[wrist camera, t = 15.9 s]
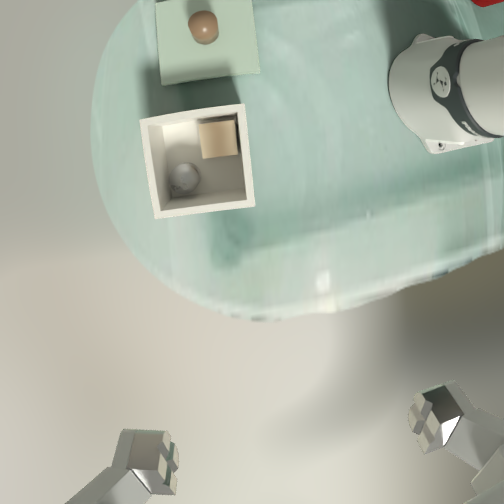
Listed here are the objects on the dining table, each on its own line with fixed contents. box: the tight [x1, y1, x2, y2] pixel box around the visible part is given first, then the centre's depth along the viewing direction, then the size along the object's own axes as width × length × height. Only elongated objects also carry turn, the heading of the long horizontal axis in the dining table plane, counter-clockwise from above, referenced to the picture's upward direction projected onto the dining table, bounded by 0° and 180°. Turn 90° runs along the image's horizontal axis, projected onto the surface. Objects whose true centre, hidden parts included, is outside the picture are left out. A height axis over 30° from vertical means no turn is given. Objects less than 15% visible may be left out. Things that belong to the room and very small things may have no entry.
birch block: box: [199, 120, 238, 159], centre depth 36 cm, size 4×4×4 cm
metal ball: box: [169, 162, 201, 194], centre depth 38 cm, size 4×4×3 cm
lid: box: [155, 0, 260, 86], centre depth 30 cm, size 12×12×7 cm
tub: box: [140, 103, 255, 219], centre depth 35 cm, size 11×11×8 cm
